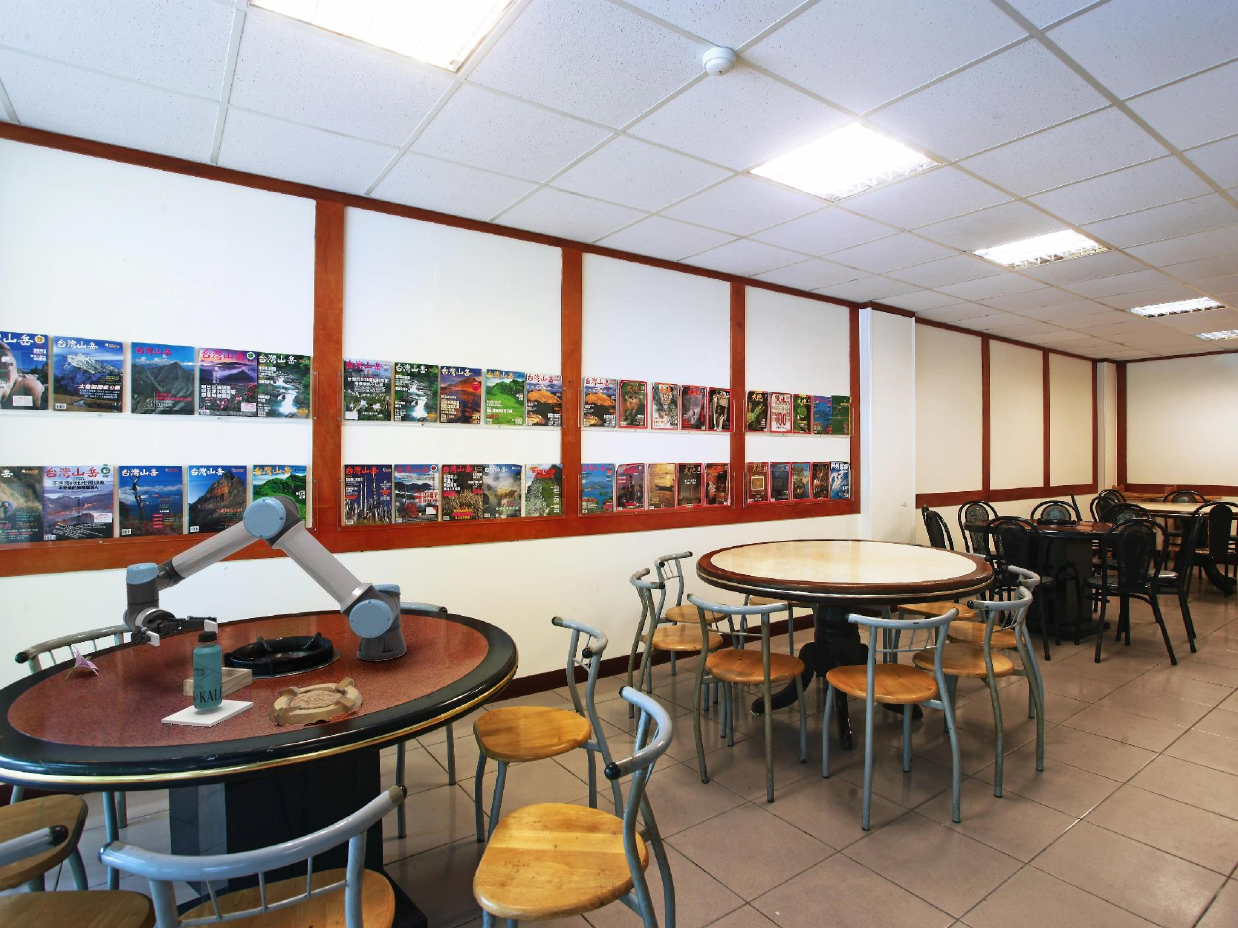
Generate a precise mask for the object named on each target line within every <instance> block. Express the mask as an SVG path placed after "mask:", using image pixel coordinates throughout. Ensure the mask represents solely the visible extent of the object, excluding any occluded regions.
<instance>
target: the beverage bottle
mask: <svg viewBox="0 0 1238 928" xmlns="http://www.w3.org/2000/svg"><path fill="white" fill-rule="evenodd" d="M217 634H218V633H216V631H202V632H200V633H198V636H197V638H198V640H197V642H198V643H201V644H200V645H198V646H197V647H196V648H195V649H194V650H193V651H192V655H193V656H192V657H193V660H192V661H193V665H192V677H193V688H194V691H193V695H194V696H193V697H192V698H193V699H192V703H193V705H194V708H195V709H209V708H213V707H216V706H218V705H220V704H221V703H222V700H224V697H223V694H222V693H223V692H222V691H223V690H222V687H223V686H222V685H223V684H222V667H223V654H222V653H223V651H222V650H223V647H222V646H221V645H219V644H217V643H211V642H215V641H217V640H218V635H217ZM204 643H205V644H204Z"/></svg>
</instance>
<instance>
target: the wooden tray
mask: <svg viewBox="0 0 1238 928" xmlns="http://www.w3.org/2000/svg"><path fill="white" fill-rule="evenodd" d="M222 684H223V685H222V686H223V687H222V690H223V691H222V692H223V693H222V694H223V697H222V698H224V697H226V696H228V695H230V694H233V693H235V692H236V691H239V690H241V689H243V688H246V687H247V686H249V685H252V684H253V669H247V668H235V667H234V668H233V667H223V666H222ZM193 691H194V688H193V676H192V677H190V678H189V677H188V678H187V679H184V680H183V696H188V697H189V696H190V697H194V695H193Z"/></svg>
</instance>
